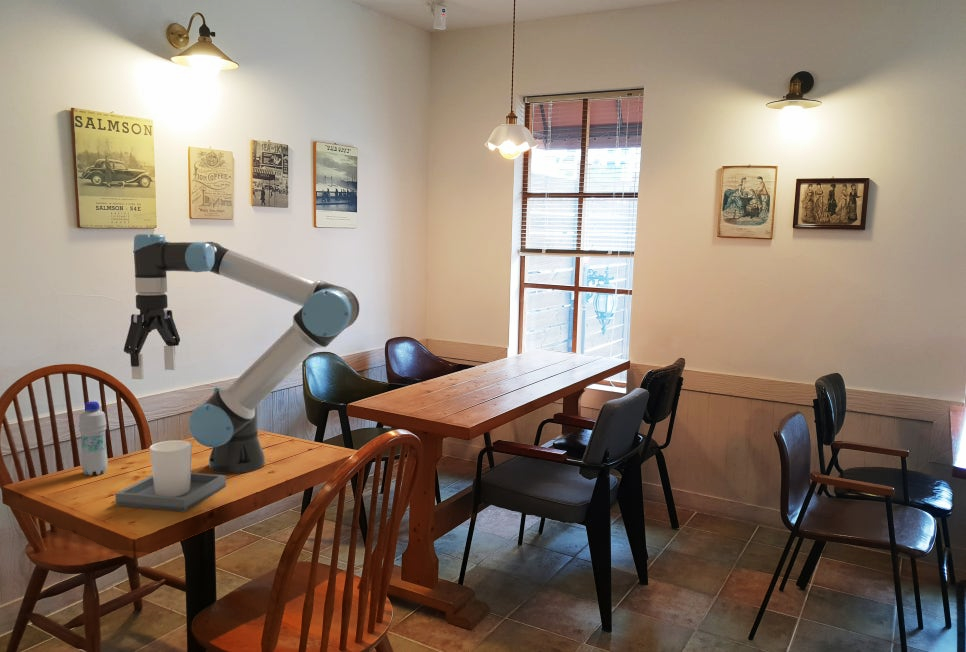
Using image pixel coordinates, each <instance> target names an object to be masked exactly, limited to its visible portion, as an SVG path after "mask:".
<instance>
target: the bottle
mask: <svg viewBox="0 0 966 652" xmlns="http://www.w3.org/2000/svg"><path fill="white" fill-rule="evenodd" d="M84 409H85V411H84V412H82V413H80V414H79V421H78V428H79V431H78V432H80V441H81V444H80V445H81V470H82V473H83V475H85V476H93V474H94V472H95V473H96V475H97V476H99V475H100V474H105V472H106V471H107V469H108V455H107V440H106V430H107V419H106V413H105V412H104V411H102V410H100V404H99V402H98V401H96V400H94V401H93V400H91V401H88V402H86V403H85V406H84Z"/></svg>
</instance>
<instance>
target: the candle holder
mask: <svg viewBox="0 0 966 652" xmlns="http://www.w3.org/2000/svg"><path fill="white" fill-rule="evenodd" d="M192 448H193V443H192V442H191V441H188V440H181V439H180V440H178V439H176V440H175V439H174V440H165V441H159V442H156V443H154V444H151V445H150V446H149V455H150V463H151V473H152V475H153V484H154V492H155V495H160V496H171V497H176V496H181V495H184V494H186V493H188V492H189V491H190V487H191V473H192V458H193V457H192V452H193V450H192ZM152 475H151V476H152Z"/></svg>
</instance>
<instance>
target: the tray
mask: <svg viewBox="0 0 966 652" xmlns="http://www.w3.org/2000/svg"><path fill="white" fill-rule="evenodd" d="M226 477H227V476H226V475H225V474H215V473H214V474H213V473H212V474H211V473H200V472H191V487H190V491H189V492H188V493H186V494H184V495H181V496H176V497H171V496H160V495H155V492H154V484H153V475H150V476H148V477H146V478H144V479H141V480H139V481H137V482H136V483H134V484H132V485H130V486H128V487H125V488H123V489H121V490H120V491H117V492H116V493H115V506H116V507H118V506H119V507H129V508H137V509H138V508H140V509H150V510H160V511H161V510H162V511H171V512H182V513H186V512H187V511H189V510H190V509H192V508H194V507H195V506H197V505H199V504H200V503H202V502H203V501H205V500H206V499H208V498H210V497H211V496H213V495H214V494H217V493H218V492H219V491H221V490H223V489H224V488H226V486H227V483H226V482H227V480H226V479H227V478H226ZM201 501H202V502H201Z"/></svg>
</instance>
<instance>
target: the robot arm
mask: <svg viewBox="0 0 966 652" xmlns="http://www.w3.org/2000/svg"><path fill="white" fill-rule="evenodd" d="M132 251H133V258H134V259H133V260H134V279H135V281H134V284H135V293H137V294H136V296H135V308H136V309H137V310H139V314H135V313H134V314H133V313H132V314H131V316H130V325H129V328H128V332H127V335H126V339H125V344H124V347H123V352H124V353H126V354H128V355H130V356H129V357H130V367H131V379H132V380H143V379H144V364H143V363H144V360H143V359H144V357H143V353H141V351H142V349H143V347H144V344H145V343H146V339H148V336H149V334H150V333H151V332H152V331H155V330H156V331H157V332H158V334H159V335H160V337H161V339H162V340H163V342H164V344H165V345H164V346H163V353H164V355H163V359H164V370H165V371H175V370H176V347H177V346H179V345H180V343H181V338H180V335H179V332H178V329H177V327H176V326H177V325H176V323H175V320H174V318H173V317H174V316H173V310H170V309H167V308H168V305H169V303H168V295H167V294H166V293H167V292H168V281H167V280H168V279H167V272H187V273H188V272H193V273H203V272H211V273H213V274H215V275H219V276H222V277H224V278H227V279H229V280H232V281H234V282H238V283H240V284H243V285H245V286H248V287H250V288H253V289H256V290H259V291H261V292H264V293H266V294H268V295H271V296H275V297H277V298H279V299H282V300H285V301H287V302H289V303H292V304H294V305H297V306H300V307H301V308H300V309H299V310H298V311H297V312H296V313H294V315H293V316H292V325H291V326H290V327H289V328H288V329H287V330H286V331H285V332H284V333H283V334H282V335H281V336H279V338H278V339H277V340H275V342H274V343H273V344H272V345H270V347H269V348H268V349H266V351H264V353H262V355H261V356H259V357H258V358H257V359H256V360H255V361H254V362H253V363H252V364H251V365H250V366H249V367H248V368H247V369H246V370H245V371H244V372H243V373H241V375H240V376H239V377H238V378H236V380H234V381H233V382H232V384H230V385H221V386H216V387H214V388H213V392H212V395H211V396H210V397H209V398H208V399H207V400H206V401H205V402H203V403H202V404H199V405H198V406H196V408H195V409H194V410H193V411H192V412H191V414H190V415H189V418H188V419H189V420H188V430H189V432H190V435H191V436H192V438H193V439H194V440H195V441H196V442H197V443H199V444H200V445H202V446H204V447H207V448H212V449H211V452H210V455H209V457H208V458H209V459H208V468H209V470H210V471H212V472H214V473H217V474H218V473H220V474H240V473H249V472H251V471H255V470H258V469H260V468H262V467H264V466H265V463H266V462H265V454H264V450H263V448H262V446H261V445H262V444H261V442H260V440H259V435H258V434H259V432H258V430H259V429H258V428H259V427H258V425H259V424H258V423H259V422H258V421H259V420H258V406H259V404H261V403H262V401H264V400H265V399H266V398H267V397H268V396H269V395H270V394H271V393H272V392H273V391H274V390H275V389H276V388H277V387H278V386H279V385H280V384H281V383H282V382H283V381H284V380H286V378H287V377H288V376H289V375H290V374H292V373H293V371H295V370H296V368H298V367H299V366H300V365H301V364H302V363H303V362H304V361H305V360H306V359H307V358H308V357H309V356H310V355H311V354H312V353H313V352H314V351H316V349H318V348H319V349H320V348H321V349H325V348H326V347H328V346H329V345H330V344H331V343H332V342H333V341H334V340H335V339H337V337H338V336H339V335H341V334H342V332H344V330H345V329H347V328H349V327H350V326H352V325H353V324H354V323H355V322H356V320H357V319H358V317H359V313H360V302H359V300H358V298H357V296H356V295H355V293H354V292H352V291H351V290H350V289H349V288H348V289H347V287H343V286H339V285H335V284H332V283H329V282H326V281H323V280H317V281H313V280H311V279H308V278H305V277H303V276H300V275H297V274H295V273H292V272H289V271H287V270H284V269H281V268H279V267H276V266H273V265H272V264H268V263H265V262H264V261H260V260H257V259H255V258H252V257H250V256H247V255H244V254H241V253H239V252H236V251H234V250H232V249H229V248H226V247H224V246H223V245H222V244H220V243H218V242H215V241H206V242H204V241H203V242H201V241H196V242H192V241H191V242H187V241H186V242H185V241H184V242H183V241H181V242H173V241H172V242H171V241H167V240H166V236H165V235H164V234H152V233H151V234H150V233H148V234H145V233H139V234H136V235H134V237H133V250H132Z"/></svg>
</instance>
